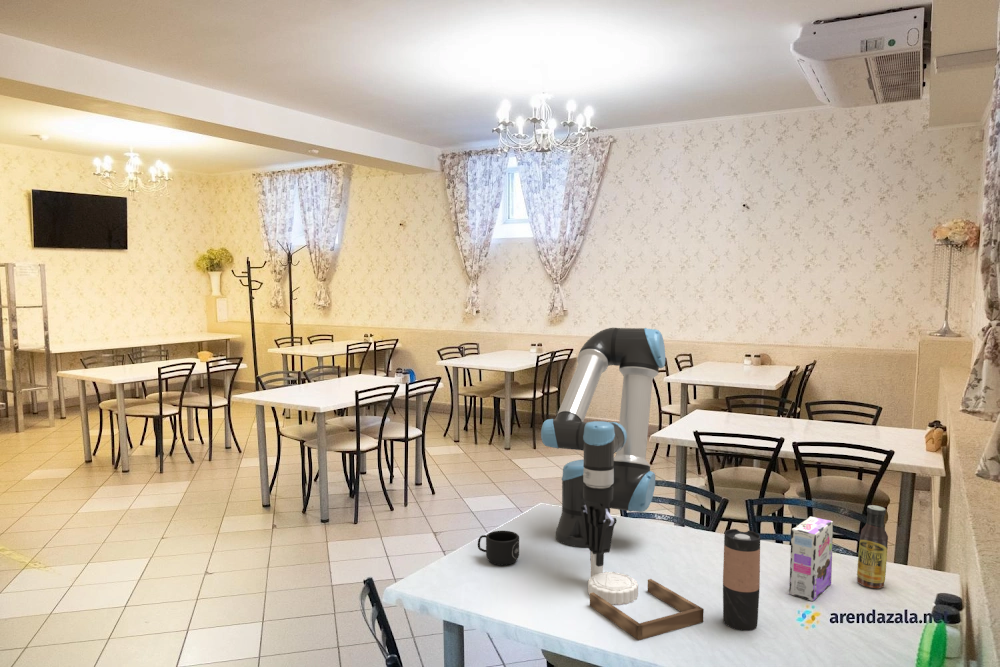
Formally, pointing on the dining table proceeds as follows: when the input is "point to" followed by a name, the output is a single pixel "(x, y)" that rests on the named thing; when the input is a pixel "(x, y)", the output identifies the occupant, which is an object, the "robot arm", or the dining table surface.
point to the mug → (501, 547)
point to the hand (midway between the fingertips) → (596, 576)
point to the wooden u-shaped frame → (685, 618)
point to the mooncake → (614, 587)
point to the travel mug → (741, 579)
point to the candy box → (811, 558)
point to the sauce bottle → (873, 549)
